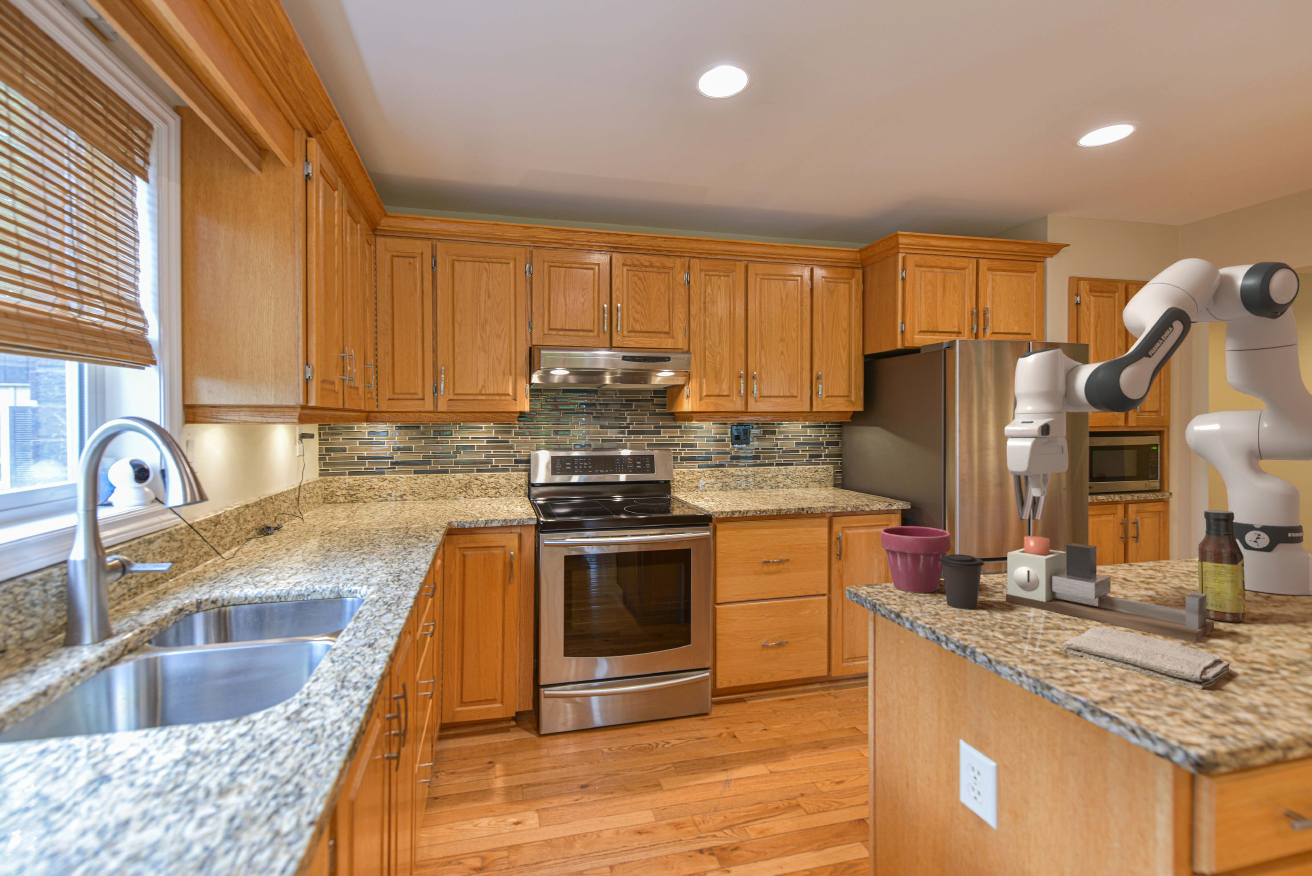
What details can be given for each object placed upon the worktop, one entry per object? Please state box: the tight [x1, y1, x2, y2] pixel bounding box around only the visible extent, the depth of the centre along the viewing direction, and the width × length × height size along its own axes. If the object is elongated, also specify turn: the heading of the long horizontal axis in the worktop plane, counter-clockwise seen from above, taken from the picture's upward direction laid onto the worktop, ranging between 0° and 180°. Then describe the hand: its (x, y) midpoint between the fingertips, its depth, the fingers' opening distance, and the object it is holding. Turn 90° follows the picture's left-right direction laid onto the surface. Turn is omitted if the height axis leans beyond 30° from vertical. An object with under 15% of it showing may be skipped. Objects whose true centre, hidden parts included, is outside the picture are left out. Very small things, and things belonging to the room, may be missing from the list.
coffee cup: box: [939, 553, 985, 610], centre depth 120 cm, size 8×8×10 cm
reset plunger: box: [1023, 535, 1051, 556], centre depth 122 cm, size 4×4×6 cm
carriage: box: [1052, 542, 1111, 606], centre depth 116 cm, size 8×7×11 cm
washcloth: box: [1061, 626, 1231, 691], centre depth 91 cm, size 12×18×3 cm, turn 34°
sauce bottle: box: [1197, 509, 1247, 623], centre depth 110 cm, size 7×6×20 cm
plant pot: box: [880, 525, 951, 594], centre depth 133 cm, size 14×14×13 cm
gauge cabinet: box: [1006, 547, 1066, 602], centre depth 122 cm, size 10×7×10 cm
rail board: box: [1005, 592, 1215, 643], centre depth 113 cm, size 11×30×6 cm, turn 36°
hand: (1039, 495), depth 121 cm, fingers closed
